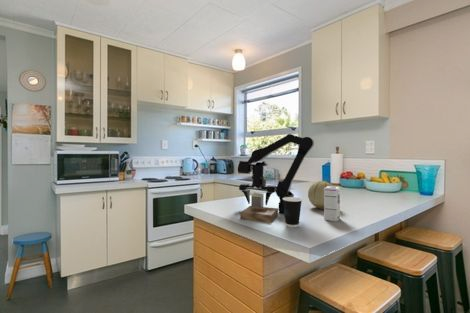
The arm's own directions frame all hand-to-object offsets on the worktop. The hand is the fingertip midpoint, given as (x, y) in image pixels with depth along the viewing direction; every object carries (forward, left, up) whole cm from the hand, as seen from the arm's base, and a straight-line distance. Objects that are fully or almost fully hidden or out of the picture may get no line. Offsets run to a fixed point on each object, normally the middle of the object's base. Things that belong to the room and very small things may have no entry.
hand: (257, 204), depth 130 cm
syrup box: (-36, +4, -3) cm, 36 cm away
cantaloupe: (-31, -17, -3) cm, 35 cm away
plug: (0, 0, -3) cm, 3 cm away
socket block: (-5, +13, -3) cm, 14 cm away
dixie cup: (-21, +21, -3) cm, 30 cm away
